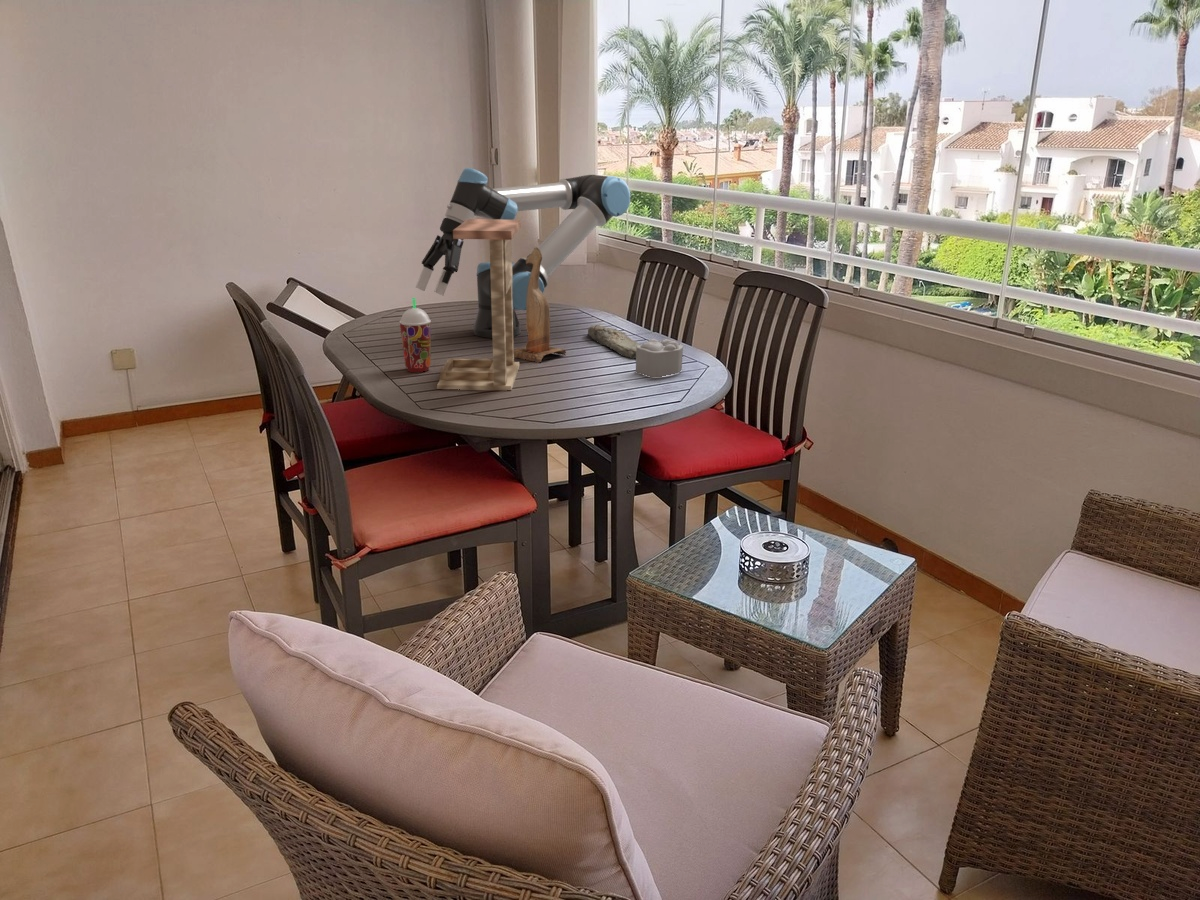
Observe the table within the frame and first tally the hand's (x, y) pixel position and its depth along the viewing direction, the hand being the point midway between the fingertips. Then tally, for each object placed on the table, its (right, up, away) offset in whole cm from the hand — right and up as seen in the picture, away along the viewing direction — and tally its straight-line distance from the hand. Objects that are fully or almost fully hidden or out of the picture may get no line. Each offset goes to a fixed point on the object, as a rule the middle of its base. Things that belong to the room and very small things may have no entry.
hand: (429, 291), depth 248 cm
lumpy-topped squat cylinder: (+66, -24, -7) cm, 70 cm away
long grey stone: (+54, -14, +20) cm, 59 cm away
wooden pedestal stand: (+17, -26, -15) cm, 35 cm away
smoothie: (-1, -24, -9) cm, 25 cm away
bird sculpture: (+31, -18, +6) cm, 37 cm away
